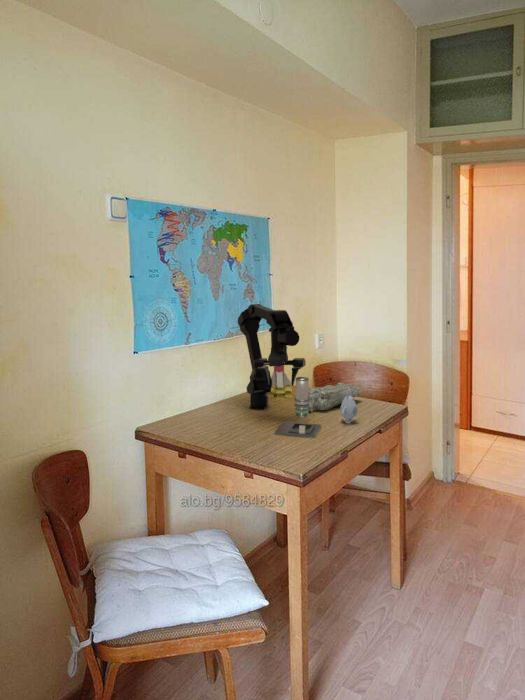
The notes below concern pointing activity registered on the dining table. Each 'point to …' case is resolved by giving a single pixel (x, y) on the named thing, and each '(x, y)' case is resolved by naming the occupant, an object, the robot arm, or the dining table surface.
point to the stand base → (298, 429)
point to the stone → (330, 395)
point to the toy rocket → (280, 383)
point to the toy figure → (348, 408)
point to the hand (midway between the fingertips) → (280, 385)
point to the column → (302, 397)
